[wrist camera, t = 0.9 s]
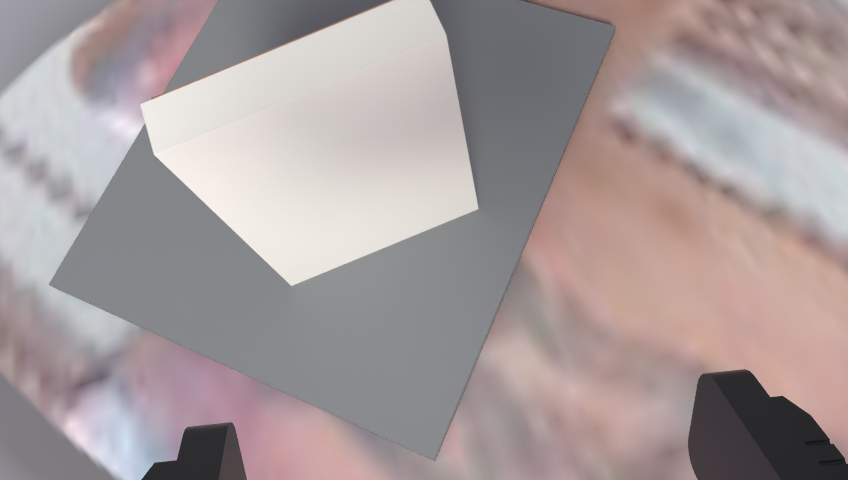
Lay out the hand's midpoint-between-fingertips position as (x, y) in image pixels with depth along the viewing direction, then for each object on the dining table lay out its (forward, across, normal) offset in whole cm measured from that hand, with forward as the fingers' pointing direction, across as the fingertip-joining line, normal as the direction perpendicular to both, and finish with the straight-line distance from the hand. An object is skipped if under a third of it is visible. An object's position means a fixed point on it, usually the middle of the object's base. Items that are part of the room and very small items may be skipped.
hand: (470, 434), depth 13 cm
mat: (+28, +3, +6) cm, 29 cm away
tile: (+24, +1, +9) cm, 25 cm away
